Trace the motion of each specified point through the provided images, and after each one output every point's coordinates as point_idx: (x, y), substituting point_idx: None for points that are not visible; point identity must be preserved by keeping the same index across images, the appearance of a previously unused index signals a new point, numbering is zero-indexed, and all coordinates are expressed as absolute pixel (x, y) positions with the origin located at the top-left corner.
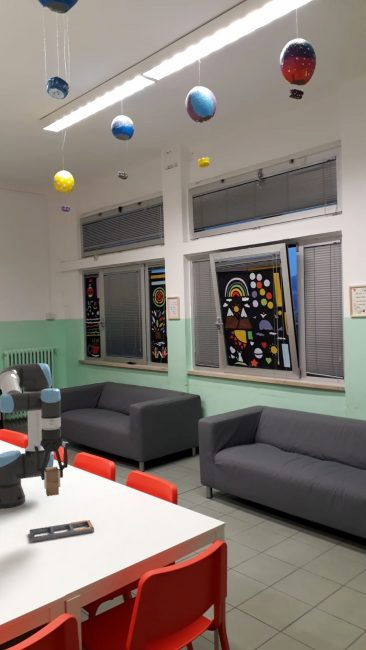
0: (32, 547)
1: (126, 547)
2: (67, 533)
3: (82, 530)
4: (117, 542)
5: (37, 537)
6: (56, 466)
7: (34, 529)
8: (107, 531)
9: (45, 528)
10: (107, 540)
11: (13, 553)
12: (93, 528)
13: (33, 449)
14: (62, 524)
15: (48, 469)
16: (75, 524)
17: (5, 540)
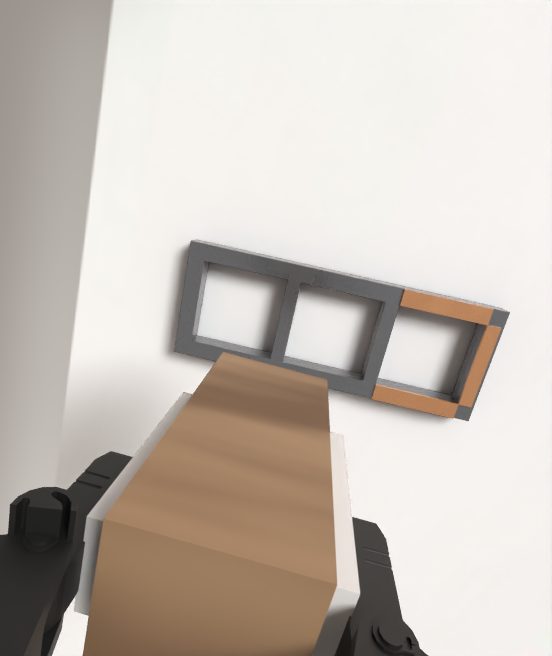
0: (173, 387)
1: (483, 604)
2: (337, 388)
3: (410, 405)
4: (482, 552)
5: (200, 356)
6: (324, 581)
7: (213, 253)
8: (517, 438)
9: (265, 274)
10: (461, 514)
11: (96, 393)
12: (465, 419)
13: None
14: (359, 279)
15: (125, 651)
16: (421, 309)
17: (84, 243)
